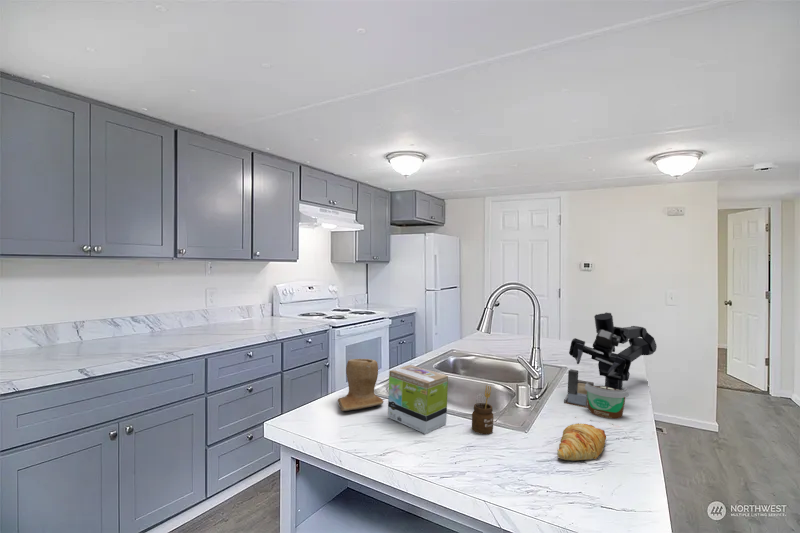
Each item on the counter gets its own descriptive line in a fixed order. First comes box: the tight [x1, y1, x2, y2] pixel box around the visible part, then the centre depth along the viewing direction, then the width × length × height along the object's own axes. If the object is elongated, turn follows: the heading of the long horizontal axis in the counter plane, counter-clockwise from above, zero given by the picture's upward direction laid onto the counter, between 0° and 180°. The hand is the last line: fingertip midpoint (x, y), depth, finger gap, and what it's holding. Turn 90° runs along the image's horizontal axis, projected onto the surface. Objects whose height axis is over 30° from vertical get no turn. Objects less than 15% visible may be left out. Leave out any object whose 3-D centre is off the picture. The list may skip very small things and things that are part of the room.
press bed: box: [563, 379, 595, 409], centre depth 140 cm, size 16×8×6 cm, turn 148°
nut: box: [577, 383, 588, 398], centre depth 142 cm, size 4×4×4 cm
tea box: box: [387, 364, 449, 435], centre depth 119 cm, size 15×10×15 cm, turn 47°
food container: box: [585, 383, 629, 420], centre depth 125 cm, size 12×6×10 cm, turn 62°
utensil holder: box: [471, 384, 494, 435], centre depth 114 cm, size 6×6×12 cm
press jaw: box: [567, 368, 587, 406], centre depth 135 cm, size 3×6×10 cm, turn 58°
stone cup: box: [337, 358, 384, 412], centre depth 130 cm, size 15×12×15 cm
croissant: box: [556, 423, 607, 462], centre depth 104 cm, size 21×10×8 cm, turn 129°
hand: (592, 368), depth 131 cm, fingers open, 9 cm apart
